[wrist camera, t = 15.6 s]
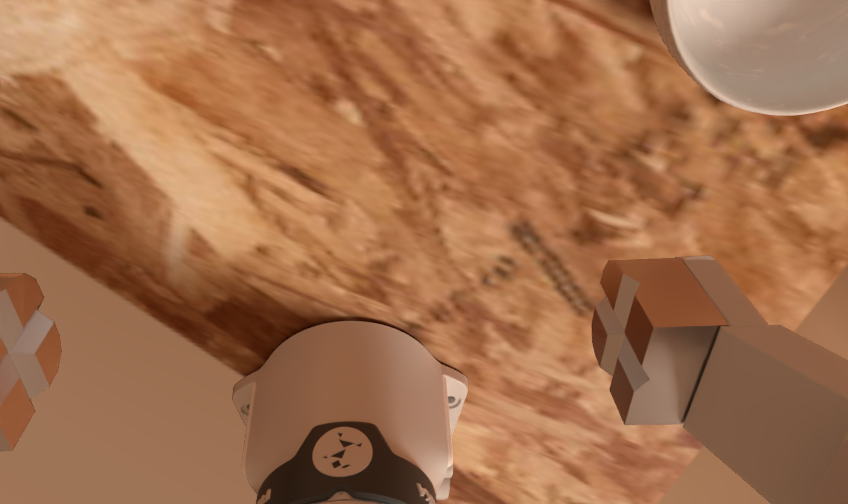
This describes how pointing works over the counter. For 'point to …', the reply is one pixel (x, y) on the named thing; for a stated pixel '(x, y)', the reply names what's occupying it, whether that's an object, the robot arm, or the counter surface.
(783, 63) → the cereal bowl
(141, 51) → the counter surface
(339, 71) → the counter surface
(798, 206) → the counter surface
